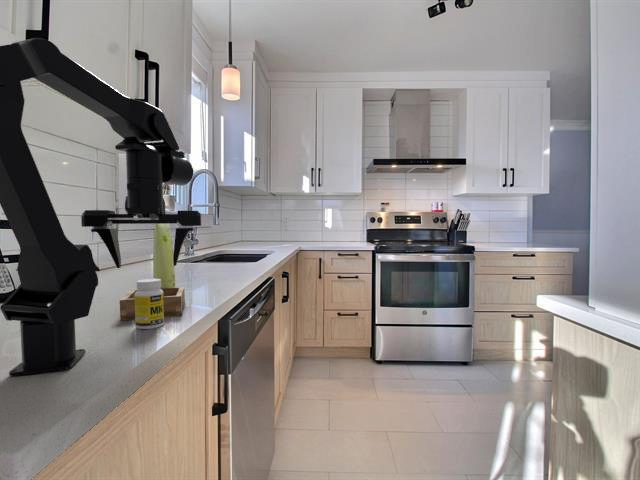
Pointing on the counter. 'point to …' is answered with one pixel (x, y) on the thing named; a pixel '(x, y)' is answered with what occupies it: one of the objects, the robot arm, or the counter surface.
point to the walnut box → (172, 303)
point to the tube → (163, 256)
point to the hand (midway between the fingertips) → (147, 266)
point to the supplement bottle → (149, 304)
